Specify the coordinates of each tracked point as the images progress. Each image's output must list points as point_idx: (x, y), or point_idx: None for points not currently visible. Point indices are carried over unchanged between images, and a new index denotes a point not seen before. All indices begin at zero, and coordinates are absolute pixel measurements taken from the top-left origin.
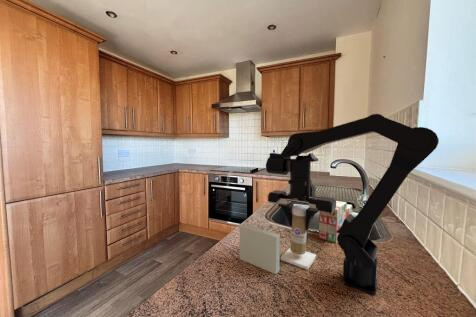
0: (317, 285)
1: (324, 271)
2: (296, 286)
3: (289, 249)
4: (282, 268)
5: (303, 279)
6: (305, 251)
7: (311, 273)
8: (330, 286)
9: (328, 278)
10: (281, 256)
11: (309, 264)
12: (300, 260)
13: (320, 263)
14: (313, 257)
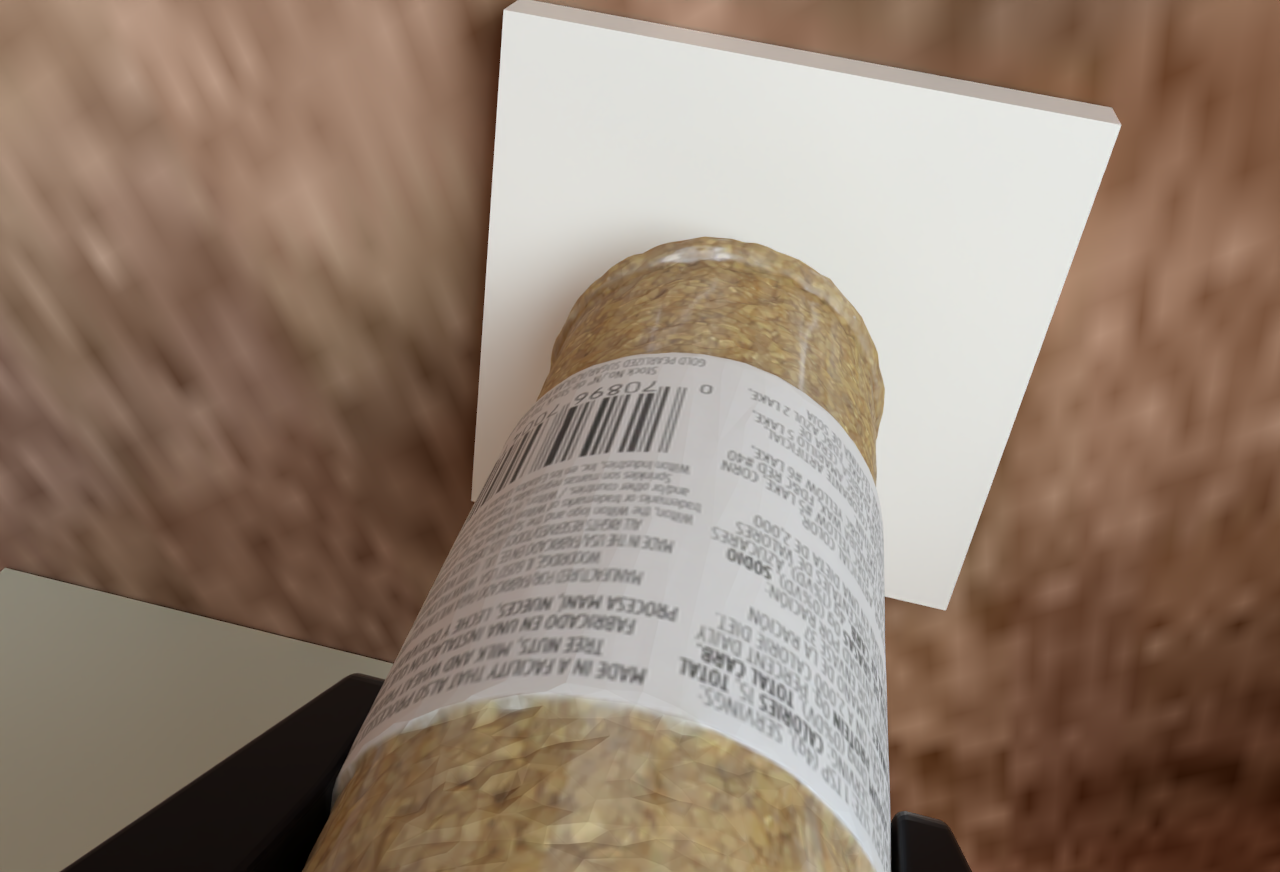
0: (1082, 817)
1: (1228, 526)
2: None
3: (516, 165)
4: None
5: (899, 768)
6: (880, 415)
7: (1005, 633)
8: (1259, 795)
9: (1264, 663)
10: (475, 473)
11: (972, 532)
12: None
13: (1185, 314)
14: (1051, 278)
